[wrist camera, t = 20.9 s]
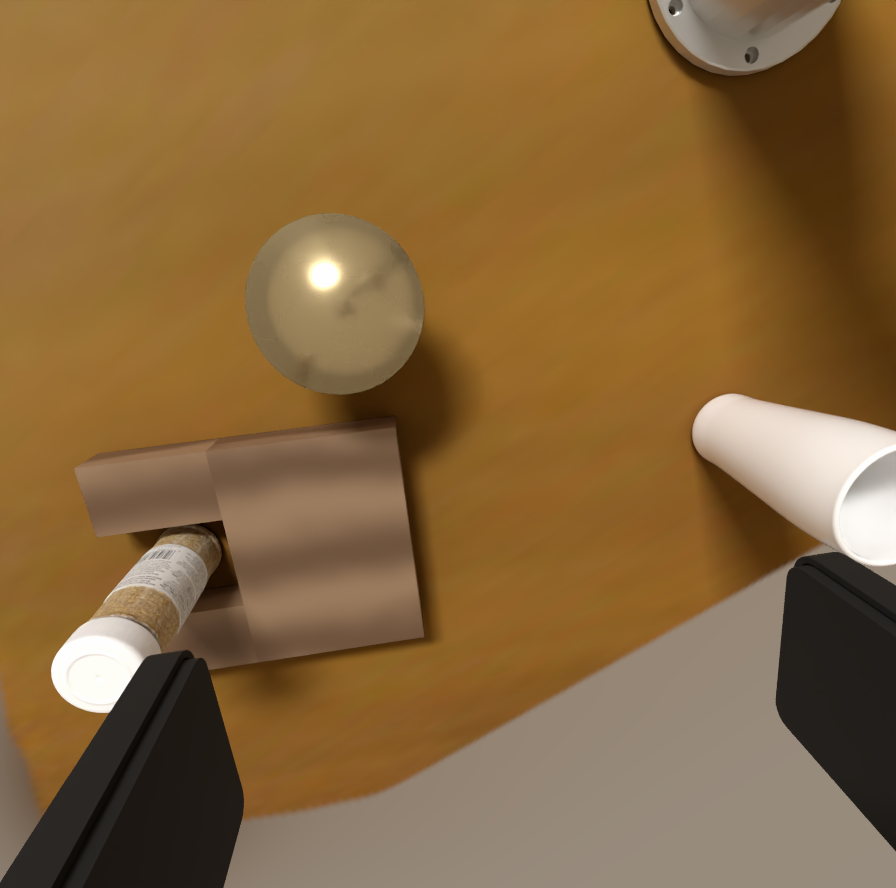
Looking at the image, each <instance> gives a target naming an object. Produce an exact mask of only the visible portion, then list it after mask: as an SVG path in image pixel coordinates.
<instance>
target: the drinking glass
mask: <svg viewBox="0 0 896 888" xmlns="http://www.w3.org/2000/svg"><path fill="white" fill-rule="evenodd" d="M692 439H693V443H694V446H695V448H696V450H697V451H698V453H699V454H700V455H701V456H702V457H703V458H705V459H706V460H707V461H709V462H711V463H713V464H714V465H716V466H718V467H719V468H720V469H722V470H723V471H724V472H726V473H727V474H728V475H730V476H731V477H732V478H734V479H735V480H736V481H737V482H739V483H740V484H741V485H743V486H744V487H745V488H747V489H748V490H749V491H750V492H752V493H753V494H754V495H756V496H757V497H758V498H759V499H761V500H762V501H763V502H765V503H766V504H767V505H768V506H770V507H771V508H772V509H773V510H775V511H776V512H777V513H779V514H780V515H781V516H783V517H784V518H785V519H787V520H788V521H789V522H791V523H792V524H793V525H795V526H796V527H798V528H799V529H801V530H802V531H804V532H805V533H807V534H808V535H810V536H812V537H813V538H815V539H817V540H818V541H820V542H822V543H823V544H825V545H827V546H829V547H830V548H832V549H834V550H836V551H838V552H840V553H842V554H845V555H847V556H848V557H850V558H852V559H853V560H855V561H856V562H858V563H861V564H865V565H870V566H889V565H894V564H896V431H894V430H891V429H888V428H884V427H881V426H878V425H874V424H871V423H867V422H863V421H859V420H855V419H850V418H846V417H841V416H836V415H831V414H826V413H821V412H816V411H811V410H806V409H801V408H796V407H791V406H786V405H781V404H776V403H771V402H767V401H762V400H758V399H754V398H751V397H748V396H745V395H741V394H725V395H721V396H719V397H716V398H714V399H712V400H711V401H709V402H708V403H707V404H706V405H705V406H704V407H703V408H702V409H701V410H700V411H699V413H698V414H697V416H696V418H695V421H694V423H693V428H692Z"/></svg>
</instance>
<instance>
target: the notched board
mask: <svg viewBox="0 0 896 888" xmlns="http://www.w3.org/2000/svg"><path fill="white" fill-rule="evenodd" d="M74 470H75V473H76V476H77V479H78V482H79V485H80V488H81V491H82V495H83V498H84V501H85V504H86V507H87V510H88V513H89V516H90V519H91V522H92V525H93V528H94V531H95V534H96V537H102V536H109V535H117V534H124V533H131V532H139V531H146V530H153V529H161V528H168V527H175V526H183V525H190V524H197V523H205V522H212V521H219V520H223V524H224V528H225V532H226V536H227V540H228V544H229V548H230V552H231V556H232V560H233V564H234V568H235V572H236V576H237V580H238V584H239V585H233V586H226V587H219V588H212V589H205V590H203V592H202V593H201V595H200V597H199V598H198V600H197V602H196V603H195V605H194V607H193V609H192V610H191V612H190V614H189V616H188V617H187V619H186V621H185V622H184V624H183V626H182V627H181V629H180V631H179V632H178V634H177V635H176V636H175V637H174V639H173V640H172V642H171V643H170V645H169V646H168V648H167V650H166V652H165V653H168V652H175V651H181V650H189V651H191V652H192V654H193V655H194V657H195V658H203V659H204V660H205V661H206V663H207V666H208V670H213V669H219V668H226V667H232V666H239V665H245V664H252V663H258V662H265V661H271V660H278V659H284V658H291V657H297V656H304V655H310V654H317V653H323V652H330V651H336V650H343V649H349V648H356V647H362V646H369V645H375V644H382V643H388V642H395V641H401V640H408V639H414V638H421V637H424V628H423V618H422V609H421V602H420V595H419V587H418V580H417V573H416V566H415V559H414V551H413V544H412V537H411V530H410V523H409V515H408V508H407V501H406V494H405V487H404V479H403V472H402V465H401V458H400V450H399V443H398V436H397V429H396V422H395V416H391V417H383V418H375V419H367V420H359V421H351V422H343V423H335V424H328V425H320V426H312V427H304V428H296V429H288V430H280V431H273V432H265V433H257V434H249V435H241V436H233V437H225V438H217V439H210V440H202V441H194V442H186V443H178V444H170V445H162V446H154V447H147V448H139V449H131V450H123V451H115V452H107V453H99V454H97V455H95V456H94V457H92V458H90V459H89V460H87V461H85V462H84V463H82V464H80V465H79V466H77V467H76V468H74Z"/></svg>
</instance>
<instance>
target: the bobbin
mask: <svg viewBox="0 0 896 888" xmlns="http://www.w3.org/2000/svg"><path fill="white" fill-rule="evenodd" d="M245 307H246V314H247V320H248V323H249V327H250V330H251V333H252V335H253V337H254V340H255V342H256V344H257V345H258V347H259V349H260V350H261V352H262V353H263V355H264V356H265V357H266V359H267V360H268V361H269V362H270V363H271V364H272V365H273V366H274V368H275V369H276V370H278V371H279V372H280V373H281V374H283V375H284V376H285V377H286V378H288V379H290V380H291V381H293V382H294V383H296V384H298V385H300V386H303V387H305V388H307V389H310V390H313V391H316V392H321V393H326V394H338V395H340V394H352V393H357V392H362V391H365V390H368V389H371V388H373V387H375V386H377V385H380V384H382V383H383V382H385V381H386V380H388V379H389V378H391V377H392V376H393V375H394V374H395V373H396V372H398V371H399V370H400V369H401V367H402V366H403V365H404V364H405V363H406V362H407V360H408V359H409V357H410V356H411V354H412V353H413V351H414V349H415V347H416V345H417V342H418V340H419V337H420V334H421V330H422V325H423V318H424V298H423V292H422V287H421V283H420V280H419V277H418V274H417V272H416V270H415V268H414V265H413V263H412V262H411V260H410V259H409V257H408V255H407V254H406V253H405V251H404V250H403V249H402V248H401V246H400V245H399V244H398V243H397V242H396V241H395V240H394V239H393V238H392V237H391V236H390V235H388V234H387V233H386V232H384V231H383V230H382V229H380V228H379V227H377V226H375V225H373V224H371V223H370V222H367V221H365V220H362V219H360V218H357V217H353V216H349V215H345V214H335V213H326V214H316V215H310V216H307V217H304V218H301V219H297V220H295V221H293V222H291V223H289V224H287V225H286V226H284V227H283V228H281V229H280V230H278V231H277V232H276V233H275V234H274V235H273V236H272V237H271V238H269V239H268V240H267V242H266V243H265V244H264V245H263V247H262V248H261V249H260V251H259V253H258V254H257V256H256V258H255V259H254V262H253V264H252V266H251V269H250V272H249V275H248V279H247V284H246V292H245Z"/></svg>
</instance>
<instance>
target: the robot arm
mask: <svg viewBox="0 0 896 888" xmlns="http://www.w3.org/2000/svg"><path fill="white" fill-rule="evenodd" d="M841 1H842V0H649V2H650V5H651V8H652V11H653V14H654V17H655V19H656V21H657V23H658V25H659V27H660V29H661V30H662V32H663V34H664V36H665V37H666V39H667V40H668V41H669V42H670V43H671V45H672V46H673V47H674V48H675V49H676V51H677V52H678V53H679V54H681V55H682V56H683V57H684V58H686V59H687V60H688V61H690V62H691V63H692V64H694V65H696V66H698V67H700V68H702V69H704V70H706V71H709V72H712V73H717V74H722V75H726V76H737V75H749V74H753V73H757V72H761V71H764V70H767V69H769V68H771V67H773V66H775V65H777V64H779V63H781V62H783V61H785V60H786V59H788V58H789V57H791V56H793V55H794V54H796V53H797V52H799V51H801V50H802V49H803V48H804V47H805V46H806V45H807V44H808V43H810V42H811V41H812V40H813V39H814V38H815V37H816V36H817V35H818V34H819V33H820V31H821V30H822V29H823V28H824V26H825V25H826V24H827V23H828V21H829V20H830V19H831V18H832V16H833V14H834V13H835V11H836V9H837V8H838V6H839V4H840V3H841ZM669 10H670V11H671V12H672V15H671V14H670V12H669ZM745 59H746V60H745ZM776 706H777V710H778V713H779V716H780V718H781V719H782V721H783V723H784V724H785V725H786V727H787V728H788V729H789V730H790V731H791V733H792V734H793V735H794V736H795V737H796V738H797V739H798V740H799V742H800V743H801V744H802V745H803V746H804V747H805V748H806V749H807V751H808V752H809V753H810V754H811V755H812V756H813V758H814V759H815V760H816V761H817V762H818V763H819V764H820V766H821V767H822V768H823V769H824V770H825V771H826V772H827V773H828V774H829V776H830V777H831V778H832V779H833V780H834V781H835V783H837V785H838V786H839V787H840V788H841V789H842V791H843V792H844V793H845V794H846V795H847V796H848V797H849V798H850V800H851V801H852V802H853V803H854V804H855V805H856V806H857V808H858V809H859V810H860V811H861V812H862V813H863V814H864V816H865V817H866V818H867V819H868V820H869V821H870V822H871V823H872V825H873V826H874V827H875V828H876V829H877V830H878V831H879V833H880V834H881V835H882V836H883V837H884V838H885V839H886V840H887V842H888V843H889V844H890V845H891V846H892V847H893V849H894V850H895V851H896V586H895V585H894V584H892V583H891V582H889V581H888V580H886V579H884V578H883V577H881V576H879V575H878V574H876V573H874V572H873V571H871V570H870V569H868V568H866V567H865V566H863V565H861V564H860V563H858V562H856V561H855V560H853V559H852V558H850V557H848V556H847V555H845V554H842V553H840V552H831V553H824V554H817V555H812V556H804V557H801V558H799V559H798V560H797V561H796V563H795V566H794V567H793V568H791V569H790V570H789V572H788V575H787V582H786V592H785V603H784V614H783V625H782V636H781V647H780V658H779V669H778V680H777V691H776ZM243 809H244V796H243V789H242V786H241V782H240V779H239V775H238V772H237V768H236V765H235V761H234V757H233V754H232V750H231V747H230V743H229V740H228V736H227V733H226V729H225V726H224V722H223V719H222V715H221V712H220V708H219V705H218V701H217V698H216V694H215V691H214V687H213V684H212V680H211V677H210V673H209V670H208V666H207V663H206V661H205V660H204V659H203V658H195V657H194V655H193V654H192V652H191V651H189V650H181V651H175V652H168V653H161V654H155V655H150V656H147V657H146V658H145V659H144V660H143V661H142V663H141V664H140V666H139V667H138V669H137V671H136V672H135V674H134V675H133V677H132V678H131V680H130V682H129V683H128V685H127V686H126V688H125V689H124V691H123V692H122V694H121V696H120V697H119V699H118V700H117V702H116V703H115V705H114V707H113V708H112V710H111V711H110V713H109V714H108V716H107V717H106V719H105V721H104V722H103V724H102V725H101V727H100V728H99V730H98V731H97V733H96V735H95V736H94V738H93V739H92V741H91V742H90V744H89V746H88V747H87V749H86V750H85V752H84V753H83V755H82V756H81V758H80V760H79V761H78V763H77V764H76V766H75V767H74V769H73V770H72V772H71V774H70V775H69V776H68V778H67V779H66V781H65V782H64V784H63V785H62V787H61V788H60V790H59V792H58V793H57V795H56V796H55V798H54V799H53V801H52V802H51V804H50V806H49V807H48V809H47V810H46V812H45V813H44V815H43V816H42V818H41V820H40V821H39V823H38V824H37V826H36V827H35V829H34V831H33V832H32V834H31V835H30V837H29V838H28V840H27V841H26V843H25V845H24V846H23V848H22V849H21V851H20V852H19V854H18V856H17V857H16V859H15V860H14V862H13V864H12V865H11V866H10V868H9V869H8V871H7V873H6V874H5V876H4V877H3V879H2V881H1V882H0V888H223V887H224V883H225V880H226V875H227V872H228V869H229V864H230V861H231V858H232V854H233V850H234V846H235V843H236V839H237V835H238V832H239V828H240V824H241V821H242V816H243Z"/></svg>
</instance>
